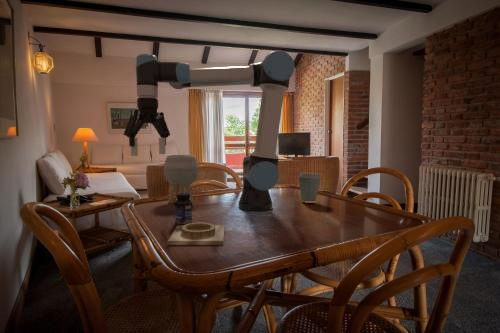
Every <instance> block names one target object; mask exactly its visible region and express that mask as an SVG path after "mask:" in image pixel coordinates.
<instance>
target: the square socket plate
mask: <svg viewBox="0 0 500 333" xmlns="http://www.w3.org/2000/svg"><path fill="white" fill-rule="evenodd" d="M225 228H226V225H224V224H223V225H219V224H218V225H216V224H214V223H212V222H211V223H210V222H204V221H203V222H199V221H197V222H192V223H189V224H186V225H178V226H177V225H176V227H175V229H174V231H173V232H172V233H171V235H170V236H169V239H168V240H167V245H168V246H194V245H195V246H200V245H201V246H207V245H208V246H209V245H210V246H211V245H212V246H221V245H224V241H225V240H224V239H225Z"/></svg>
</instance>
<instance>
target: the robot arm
mask: <svg viewBox="0 0 500 333" xmlns="http://www.w3.org/2000/svg"><path fill="white" fill-rule="evenodd" d="M135 61H136V63H135V64H136V65H135V73H136V74H135V76H136V97H138V98H137V99H136V104H137V106H136V107H137V109H130V116H129V119H128V121H127V124H126V127H125V130H124V132H123V135H124V136H125V137H127V138H128V144H129V145H128V146H129V147H130V156H133V157H138V156H139V154H138V153H139V150H138V148H139V147H138V137H136V136H137V135H138V133H139V131H140V130H141V128H143V126H144V124H151V125H152V126H153V127H154V129H155V130H156V132H157V134H158V135H159V136H160V137H158V154H159V155H166V146H167V138H169V137H170V136H171V133H170V129H169V127H168V125H167V122H166V120H165V114H164V112H163V111H161V112H159V111H158V109H159V99H158V97H159V84H158V83H165V84H166V83H168V84H169V86H170V87H171V88H173V89H175V90H182V89H185V88H186V89H187V88H200V87H201V88H202V87H204V88H206V87H223V86H225V87H226V86H242V85H243V86H245V85H246V86H247V85H249V86H250V87H251V88H258V87H259V88H260V89H261V98H260V104H259V105H260V108H259V113H258V121H257V122H258V123H257V130H256V137H255V144H254V151H252V152H251V153H250V154H249V155H248V156H244V157H243V159H242V192H241V195H240V198H239V199H238V200H239V201H238V209H241V210H245V211H249V212H250V211H251V212H261V210H264V211H268V210H267V209H269V210H271V209H273V200H272V197H271V194H270V190H272V189H273V188H274V187H275V186H276V185H277V184H278V182H279V180H280V172H279V167H278V166H279V160H280V159H279V158H280V157H279V156H278V154H277V146H278V139H279V131H280V126H281V125H280V124H281V116H282V111H283V104H284V103H283V102H284V97H285V96H284V95H285V94H286V92H287V91H289V86H290V80H291V77H292V76H293V74H294V72H295V61H294V59H293V58H292V56H291V55H290V54H289V53H288V52H286V51H284V50H281V49H280V50H279V49H278V50H274V51H271V52H269V53H268V54H267V55H266V56H265V57H264V59H263V61H261V62H255V63H250V64H249V65H248V66H226V67H225V66H223V67H222V66H221V67H202V68H201V67H199V68H191V66H190V64H189V63H188V62H183V61H179V62H177V61H160V60H158V57H157V56H156V55H155V54H150V53H140V54H138V55H137V56H136V60H135ZM270 208H271V209H270Z"/></svg>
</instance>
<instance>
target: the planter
mask: <svg viewBox="0 0 500 333" xmlns="http://www.w3.org/2000/svg"><path fill="white" fill-rule="evenodd" d="M163 175H164V178H165V179H166V181H167V182H168V183H169V184H171V186H170V193H169V196H168V201H167V202H168V203H169V204H172V203H173V202H174V200H175V196H176V194H177V193H176V192H177V189H178V187H179V193H189V194H190V198H189V200H191V202H192V204H193V203H194V197H193V193H192V188H191V187H192V186H191V185H192V184H193V183H194V182H195V181H196V180H197V178H198V175H199V165H198V160H197V157H196V156H195V155H193V154H168V155H167V156H166V157H165V161H164V164H163Z"/></svg>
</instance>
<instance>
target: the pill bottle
mask: <svg viewBox="0 0 500 333" xmlns="http://www.w3.org/2000/svg"><path fill="white" fill-rule="evenodd" d="M175 196H176V200H175V201H174V225H175V226H176V227H177V226H178V225H186V224H189V223H193V213H192V212H193V203H192V202H191V200H189V198H190V194H189V193H186V192H185V193H180V192H178V193H176V195H175Z"/></svg>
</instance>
